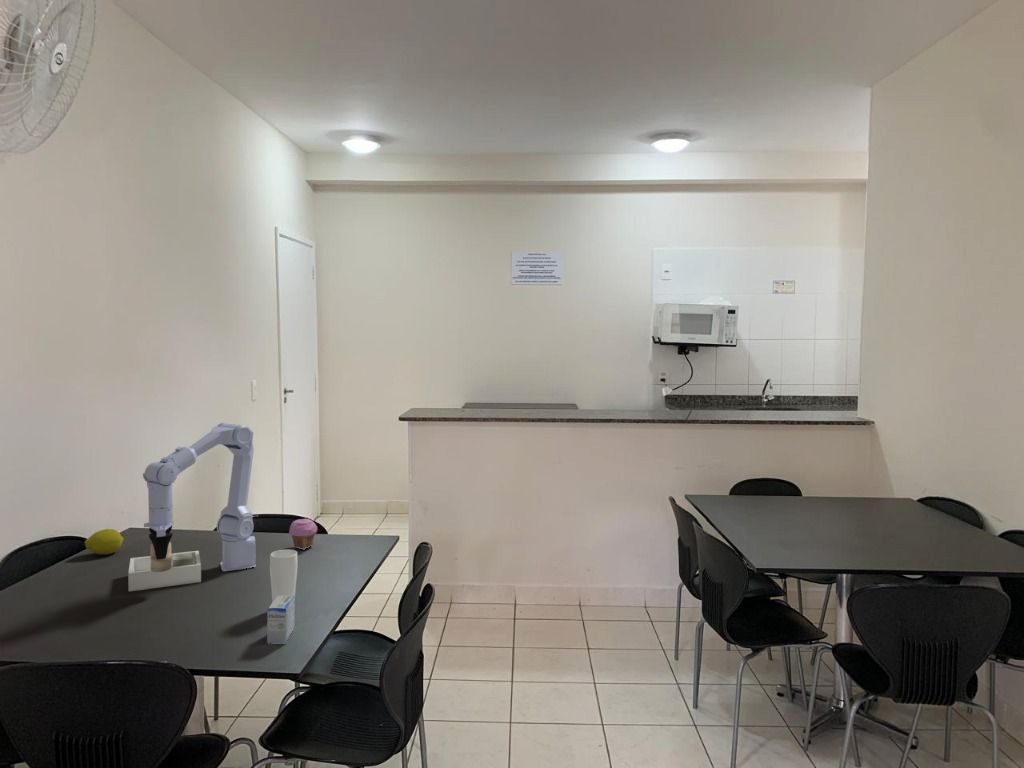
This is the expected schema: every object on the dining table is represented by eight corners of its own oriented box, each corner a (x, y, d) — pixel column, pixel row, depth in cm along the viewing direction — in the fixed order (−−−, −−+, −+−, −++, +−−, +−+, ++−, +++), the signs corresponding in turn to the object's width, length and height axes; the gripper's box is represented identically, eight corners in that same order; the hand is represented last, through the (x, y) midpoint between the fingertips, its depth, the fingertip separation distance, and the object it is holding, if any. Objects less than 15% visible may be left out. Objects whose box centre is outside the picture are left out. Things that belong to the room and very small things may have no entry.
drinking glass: (271, 617, 167) (271, 558, 166) (268, 607, 173) (268, 551, 172) (299, 612, 170) (299, 555, 169) (294, 603, 176) (295, 547, 175)
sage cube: (191, 569, 197) (191, 553, 197) (192, 575, 193) (192, 558, 193) (172, 572, 195) (172, 555, 195) (173, 577, 190) (173, 560, 190)
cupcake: (305, 553, 217) (305, 523, 216) (283, 550, 220) (283, 520, 219) (322, 546, 225) (322, 517, 224) (301, 543, 228) (301, 514, 228)
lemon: (122, 548, 218) (122, 524, 217) (126, 554, 211) (126, 530, 211) (83, 554, 211) (83, 529, 210) (86, 561, 205) (85, 535, 204)
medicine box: (276, 630, 160) (276, 595, 159) (295, 630, 160) (295, 595, 160) (266, 645, 152) (266, 608, 152) (286, 644, 153) (286, 608, 152)
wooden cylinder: (171, 564, 184) (171, 540, 184) (171, 570, 180) (171, 545, 179) (150, 567, 182) (150, 542, 181) (150, 573, 177) (150, 547, 177)
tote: (198, 566, 202) (198, 550, 202) (201, 581, 190) (200, 564, 190) (130, 575, 194) (130, 558, 193) (128, 591, 181) (128, 573, 181)
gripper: (144, 501, 184) (144, 549, 185) (143, 514, 171) (143, 565, 172) (172, 499, 187) (173, 546, 188) (173, 511, 175) (174, 562, 176)
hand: (161, 555), depth 181 cm, fingers closed on wooden cylinder, 5 cm apart
